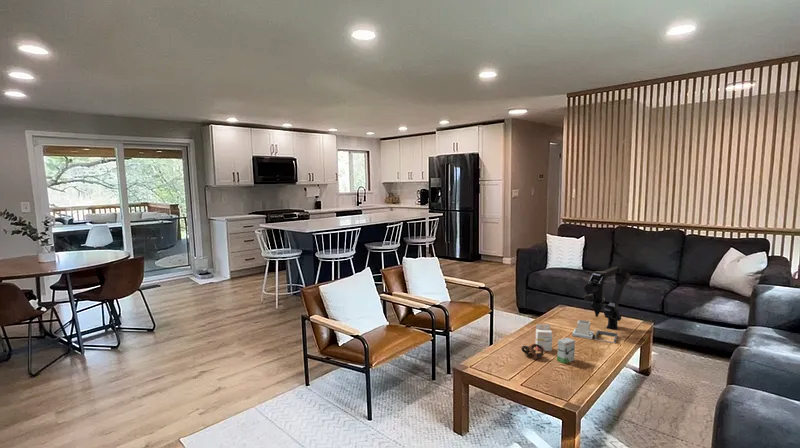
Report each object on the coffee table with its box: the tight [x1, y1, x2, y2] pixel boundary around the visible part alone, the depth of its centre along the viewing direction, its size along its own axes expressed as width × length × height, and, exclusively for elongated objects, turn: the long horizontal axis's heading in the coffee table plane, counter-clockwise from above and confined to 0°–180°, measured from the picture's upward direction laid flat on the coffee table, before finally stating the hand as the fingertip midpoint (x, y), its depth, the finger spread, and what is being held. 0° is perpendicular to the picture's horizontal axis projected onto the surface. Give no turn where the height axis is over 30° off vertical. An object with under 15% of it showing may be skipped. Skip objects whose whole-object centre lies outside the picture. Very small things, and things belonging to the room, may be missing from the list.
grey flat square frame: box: [594, 329, 618, 344], centre depth 255 cm, size 12×12×2 cm
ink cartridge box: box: [534, 323, 553, 352], centre depth 240 cm, size 9×5×15 cm, turn 84°
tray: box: [571, 328, 595, 340], centre depth 260 cm, size 10×12×2 cm
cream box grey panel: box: [576, 319, 591, 336], centre depth 260 cm, size 5×7×9 cm
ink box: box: [556, 337, 576, 364], centre depth 225 cm, size 9×5×12 cm, turn 117°
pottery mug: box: [521, 343, 544, 361], centre depth 231 cm, size 12×10×8 cm
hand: (597, 314), depth 263 cm, fingers open, 9 cm apart
